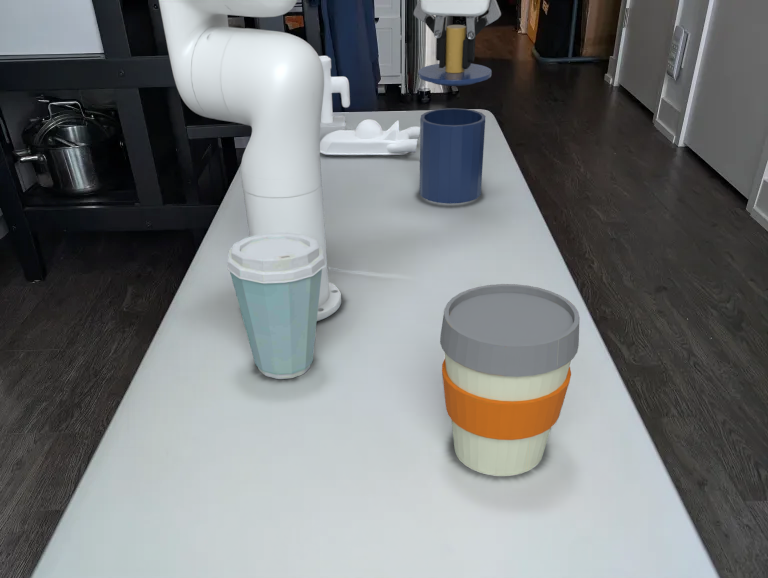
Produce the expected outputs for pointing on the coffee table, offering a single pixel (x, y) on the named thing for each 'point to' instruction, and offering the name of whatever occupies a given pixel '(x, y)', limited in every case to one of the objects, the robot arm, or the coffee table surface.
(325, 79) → the white faucet
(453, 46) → the tin lid
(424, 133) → the tin
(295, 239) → the disposable coffee cup
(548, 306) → the reusable coffee cup
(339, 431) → the coffee table surface
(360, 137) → the plane toy
